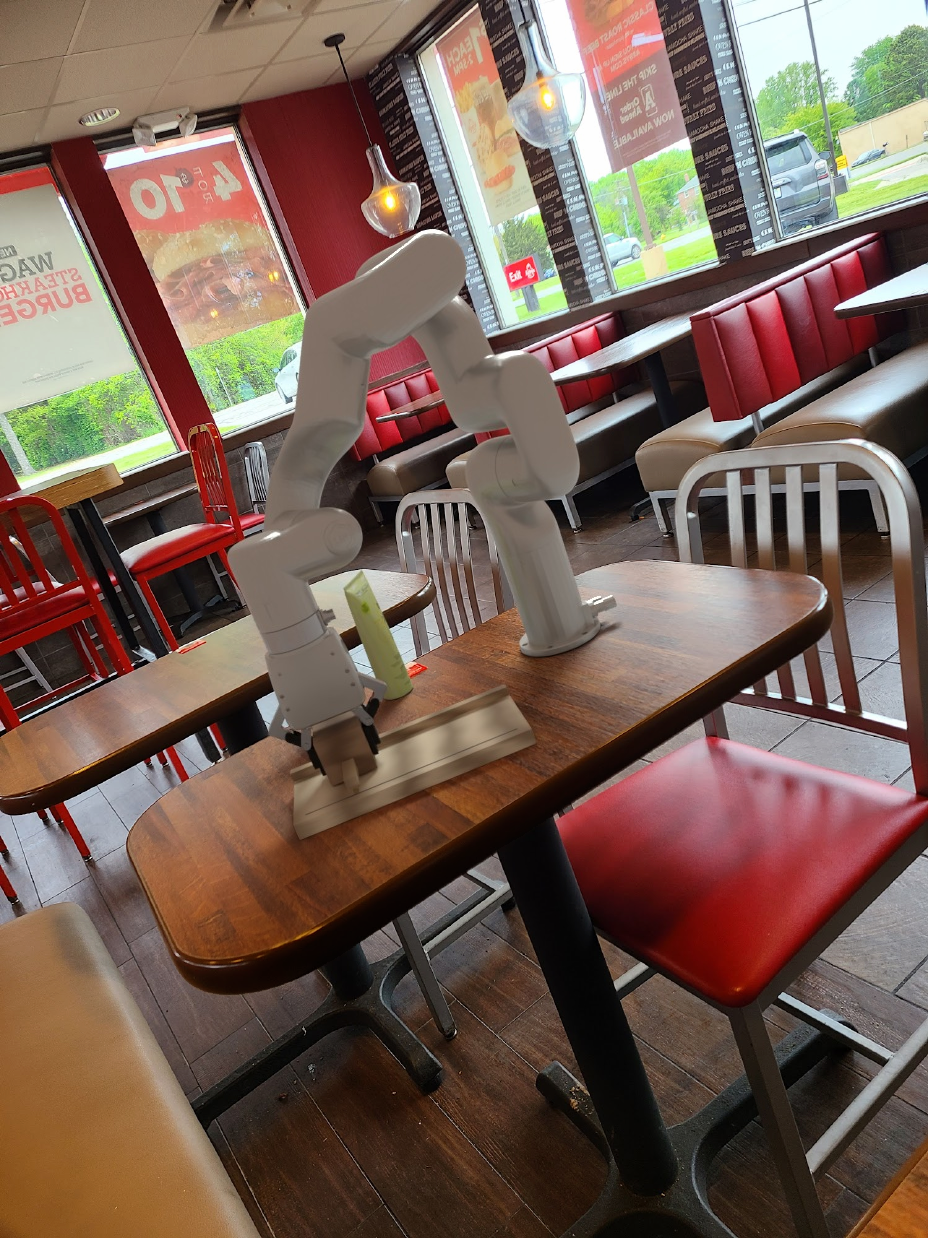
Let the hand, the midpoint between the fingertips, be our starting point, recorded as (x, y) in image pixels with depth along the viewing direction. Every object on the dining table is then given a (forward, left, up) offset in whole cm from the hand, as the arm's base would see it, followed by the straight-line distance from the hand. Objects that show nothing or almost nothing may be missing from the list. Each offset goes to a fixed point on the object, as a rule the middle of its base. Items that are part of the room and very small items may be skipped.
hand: (350, 759), depth 110 cm
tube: (-8, -24, -4) cm, 26 cm away
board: (-7, +2, -3) cm, 8 cm away
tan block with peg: (0, +3, -1) cm, 3 cm away
